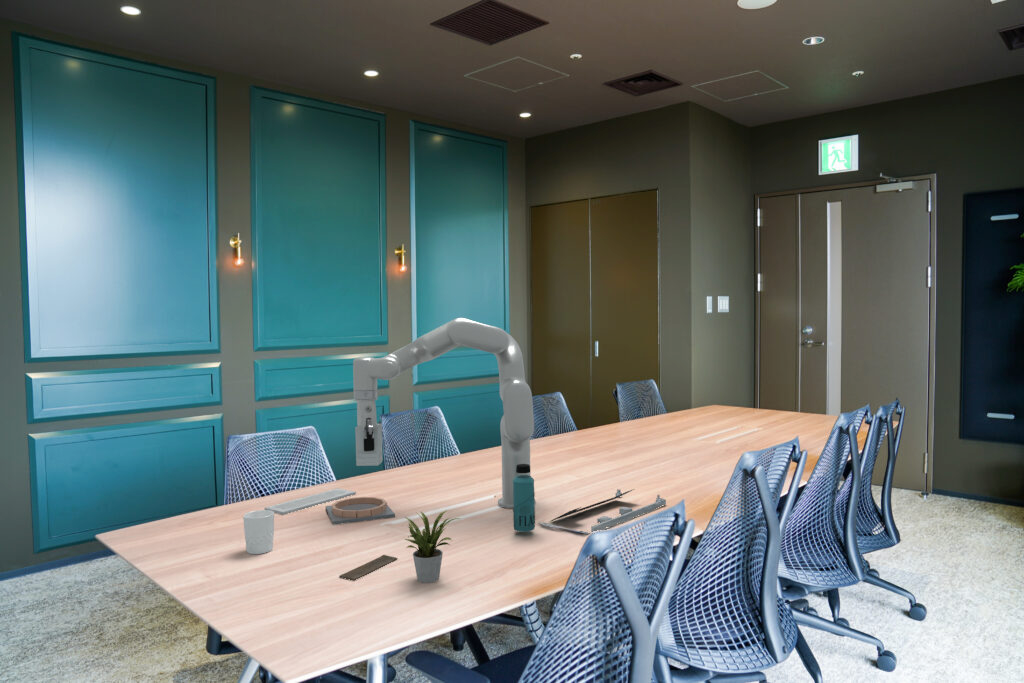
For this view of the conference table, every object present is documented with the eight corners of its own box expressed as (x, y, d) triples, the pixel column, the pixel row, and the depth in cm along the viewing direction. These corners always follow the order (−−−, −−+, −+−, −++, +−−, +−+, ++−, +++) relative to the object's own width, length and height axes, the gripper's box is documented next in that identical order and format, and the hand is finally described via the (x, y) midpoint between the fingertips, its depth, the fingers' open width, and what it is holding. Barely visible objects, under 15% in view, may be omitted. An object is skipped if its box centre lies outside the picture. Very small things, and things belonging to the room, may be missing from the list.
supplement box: (383, 461, 225) (382, 423, 224) (378, 466, 217) (377, 426, 217) (360, 461, 225) (360, 423, 224) (355, 466, 217) (354, 426, 217)
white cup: (265, 543, 191) (264, 508, 191) (280, 549, 186) (279, 513, 186) (238, 551, 185) (237, 514, 185) (254, 557, 180) (253, 519, 180)
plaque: (283, 512, 219) (264, 507, 225) (283, 516, 219) (264, 512, 225) (355, 491, 244) (337, 488, 250) (356, 495, 244) (337, 492, 250)
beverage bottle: (516, 538, 192) (515, 467, 192) (510, 531, 199) (509, 463, 198) (538, 535, 194) (537, 466, 193) (531, 529, 200) (530, 461, 200)
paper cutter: (665, 506, 223) (665, 489, 223) (581, 540, 191) (581, 520, 191) (620, 497, 236) (619, 481, 236) (533, 527, 204) (533, 508, 203)
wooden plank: (354, 577, 162) (338, 573, 165) (354, 583, 162) (338, 578, 165) (398, 557, 177) (382, 553, 179) (397, 562, 177) (382, 558, 179)
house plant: (464, 566, 171) (463, 501, 170) (462, 588, 157) (461, 517, 156) (407, 568, 170) (405, 503, 170) (400, 590, 156) (398, 519, 156)
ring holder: (395, 517, 215) (394, 507, 215) (333, 524, 208) (333, 514, 208) (383, 502, 233) (382, 493, 233) (325, 509, 226) (325, 500, 225)
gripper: (382, 397, 213) (383, 452, 214) (372, 392, 230) (373, 443, 230) (358, 398, 211) (359, 454, 211) (349, 393, 227) (350, 444, 227)
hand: (366, 448), depth 221 cm, fingers closed on supplement box, 9 cm apart
